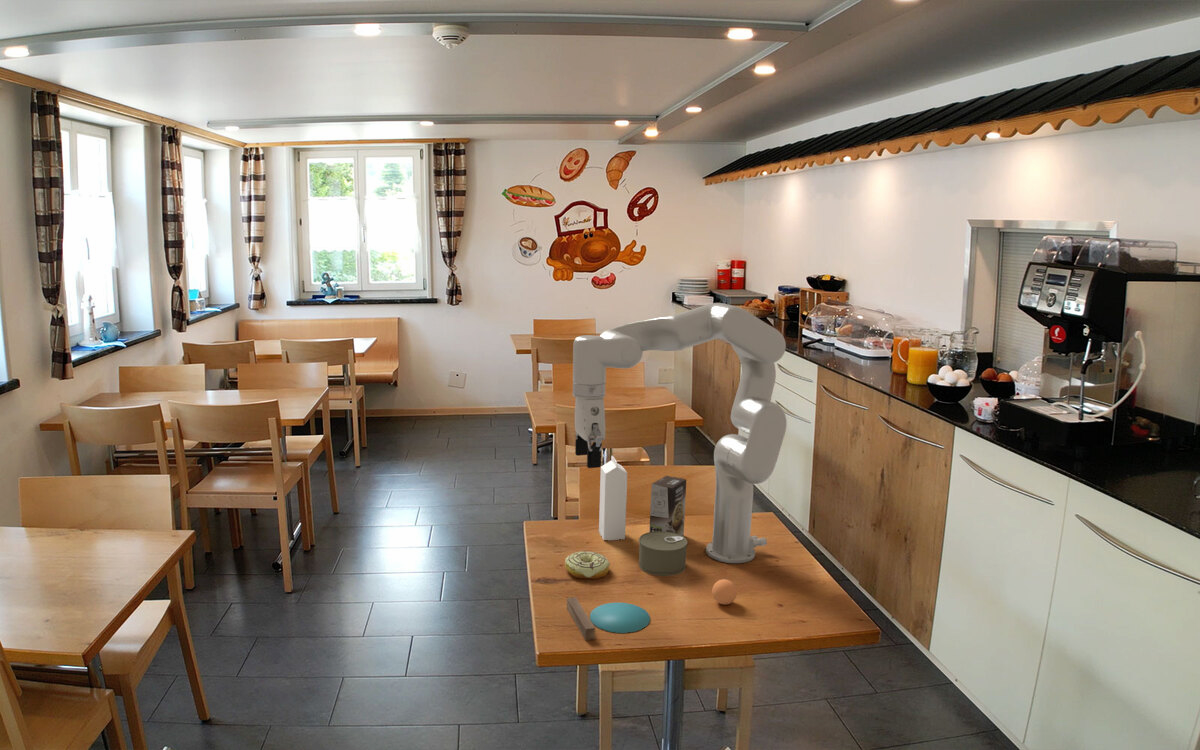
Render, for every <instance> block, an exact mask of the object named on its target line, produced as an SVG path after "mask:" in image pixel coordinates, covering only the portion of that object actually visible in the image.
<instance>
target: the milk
mask: <svg viewBox="0 0 1200 750" xmlns="http://www.w3.org/2000/svg"><path fill="white" fill-rule="evenodd" d="M599 478H600V479H599V480H600V481H599V484H600V486H599V515H598V516H599V517H598V518H599V519H598V523H599V524H598V533H599V536H600V537H601V536H602V537H601V538H602V540H603V541H604V540H608V541H620V540H619V539H621V540H622V539H623V540H626V524H627V523H626V522H627V520H626V519H627V498H628V496H627V493H628V472H627V471H626V469H625V468H624V467H623V466H622V464H619V463H618V462H617V460H616V458H615V457H614V455H611V460H609V461H608V462H606V463H605V464H603V465H601V467H600V477H599Z"/></svg>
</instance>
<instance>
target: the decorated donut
mask: <svg viewBox="0 0 1200 750" xmlns="http://www.w3.org/2000/svg"><path fill="white" fill-rule="evenodd" d="M564 560H565V562H564V566H565V568H566V571H567V572H568V573H569V574H570V575H571V576H572V577H575V578H578V579H589V580H590V579H591V580H594V579H600V578H603V577H605V576H607V574H608V572H609V570H610V569H609V567H610V566H611V564H610V561H609V560H608V558H607V557H606V556H605V555H602V554H601V553H598V552H595V551H576V552H572V553H571V554H570V555H568V556H567V557H565V559H564Z"/></svg>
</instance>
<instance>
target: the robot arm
mask: <svg viewBox="0 0 1200 750" xmlns="http://www.w3.org/2000/svg"><path fill="white" fill-rule="evenodd" d="M714 340H721V341H725V342H729V344H730V345H731V347H732V349H733V350H734V352H735V353H736V355H737V357H738V359H739V361H740V366H741V367H740V368H741V374H740V379H739V384H738V387H737V391H736V394H735V397H734V401H733V403H732V407H731V412H730V421H731V423H732V425H733V426H734V427H735V428H736V429H738V430H740V431H741V432H743V433H745V434H747V435H748V437H747V438H746V437H745V436H742V435H740V434H735V433H731V434H726V435H723V436H722V437H721V438H720V439H719V440H718V441H717V443H716V445H715V446H714V451H713V461H714V462H713V463H714V470H715V471H714V472H715V493H714V509H713V529H712V542H709V543H708V544H707V545H706V547H705V552H706V554H707V555H708V556H709V558H711V559H712V560H713V559H714V560H716V561H718V562H721V563H727V564H743V563H747V562H750V561H752V560H754V558H755V556H756V550H755V549H754V548H756V547H758V546H759V547H761V546H762V547H764V546H767V544H768V542H767V538H766V537H759V538H758V536H757V535H751V532H752V531H751V530H752V529H751V528H752V513H753V512H752V511H753V501H754V500H753V499H754V485H760V484H762V483H764V482H766V481H767V480H768V479H769V478H770V477H771V475H772V474H773V473H774V469H775V467H776V463H777V462H778V459H779V455H780V452H781V447H782V446H783V441H784V439H785V438H784V437H785V436H786V435H785V434H786V430H787V426H788V425H787V417H786V413H785V411H784V410H783V408H782V407H781V406H780V405H778V404H777V403H774V402H773V401H772V397H773V394H774V392H773V391H774V388H775V383H776V380H777V379H776V377H777V372H776V365H775V363H777V362H778V361H780V360H781V359H782V358H783V356H784V355H785V351H786V350H787V349H786V347H787V346H786V345H787V344H786V339H785V337H784V336H783V334H782V333H781V332H780V331H779V330H778V329H776V328H775V327H773V326H771V325H769V324H768V323H766V322H765V321H763V320H761V319H760V318H759V317H757V316H755V315H754V314H752V313H750V312H749V311H747V310H745V308H744V309H743V308H742V307H740V306H736V305H731V304H727V303H722V302H713V303H709V304H705V305H702V306H700V307H695V308H692V309H689V310H688V309H687V310H686V311H682V312H679V313H675V314H672V315H669V316H663V317H661V316H660V317H657V318H652V319H650V318H649V319H646V320H639V321H634V322H630V323H626V324H623V325H619V326H615V327H613V328H609V329H607V330H605V331H603V332H601V334H599V335H593V334H592V335H591V334H588V335H586V334H585V335H579V336H577V337H575V339H574V340H573V345H572V346H573V347H572V396H573V398H575V401H574V402H575V404H574V405H575V406H574V430H575V434H574V435H575V437H574V438H575V445H574V446H575V451H574V453H575V455H576V456H586V467H587V468H588V469H594V468H601V466H602V450H603V448H602V445H603V443H602V441H604V440H605V439H606V413H605V411H606V410H605V402H604V400H605V399H604V398H605V397H606V382H607V381H606V380H607V378H606V377H607V375H606V374H607V373H606V372H607V368H614V369H622V370H625V369H631V368H634V367H635V366H636V365H638V364H639V363H640V362H641V360H642V358H643V352H645V351H646V352H647V351H660V352H661V351H662V352H676V351H682V350H685V349H689V348H692V347H694V346H695V347H696V346H698V345H701V344H705V343H708V342H712V341H714Z"/></svg>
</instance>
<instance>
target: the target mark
mask: <svg viewBox="0 0 1200 750" xmlns="http://www.w3.org/2000/svg"><path fill="white" fill-rule="evenodd" d="M589 619H590V621H591V622H592V624H593V625H594V627H595V628H598V629H600V630H602V629H603V630H602V631H605V630H606V631H605V632H609V633H614V632H615V633H616V634H629V633H628V632H630V633H634V632H639V631H640V630H643V629H644V627H645V628H646V627H647V626H648V625H649V624H650V622H651V617H650V614H649V613H648V611H647V610H646V609H644V608H642V607H640V606H639V605H636V604H632V603H627V602H610V603H609V602H608V603H605V604H601V605H598V606H596V607H595V608H594V609H592V610H591V612H590V614H589ZM642 628H643V629H642ZM638 630H639V631H638Z"/></svg>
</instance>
